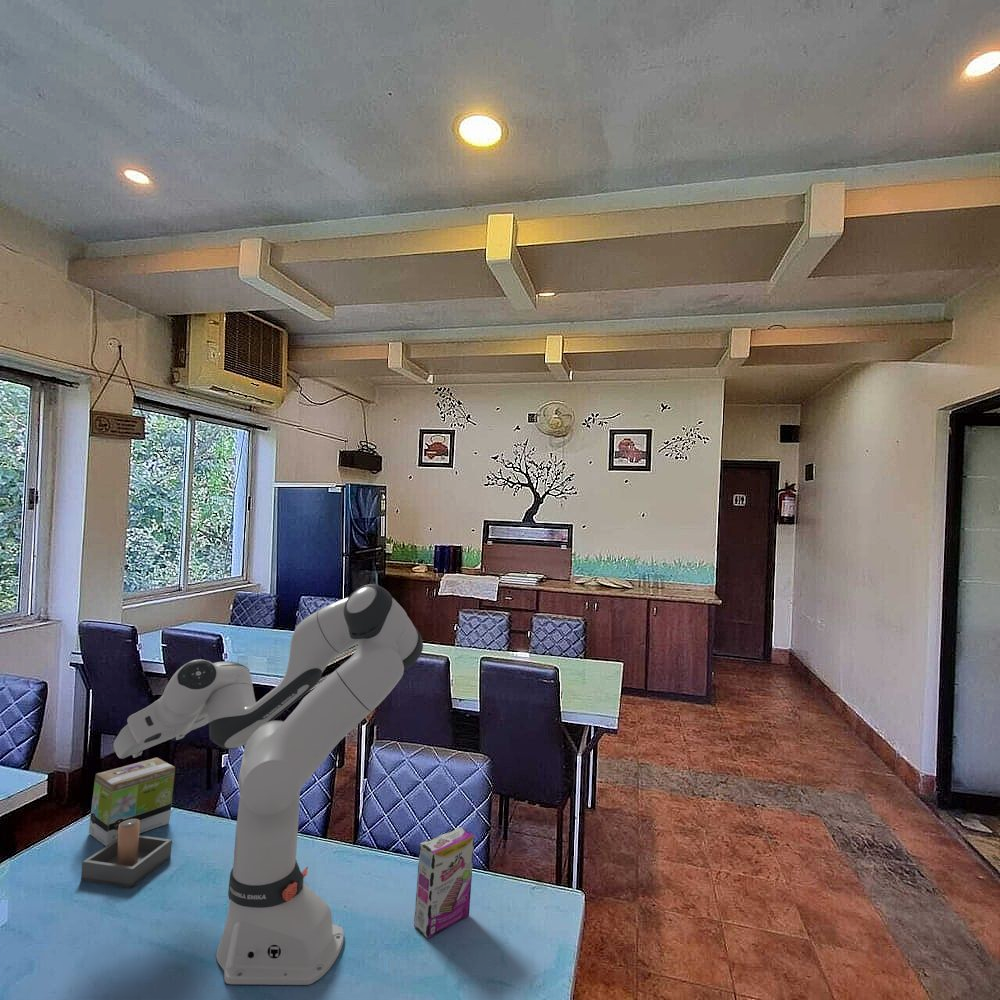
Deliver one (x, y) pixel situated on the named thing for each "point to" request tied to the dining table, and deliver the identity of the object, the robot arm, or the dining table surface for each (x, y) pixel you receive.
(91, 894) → the dining table surface
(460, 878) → the candy bar box
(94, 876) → the charcoal bin
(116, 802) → the tea box
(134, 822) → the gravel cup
